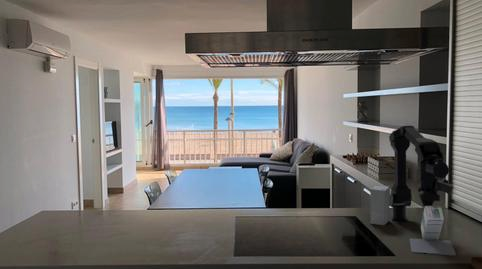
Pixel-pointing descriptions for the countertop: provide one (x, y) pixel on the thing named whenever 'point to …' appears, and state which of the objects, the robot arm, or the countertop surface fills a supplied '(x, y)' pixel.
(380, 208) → the skincare box
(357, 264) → the countertop surface
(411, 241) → the light grey square plate
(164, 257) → the countertop surface
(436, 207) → the syrup box
